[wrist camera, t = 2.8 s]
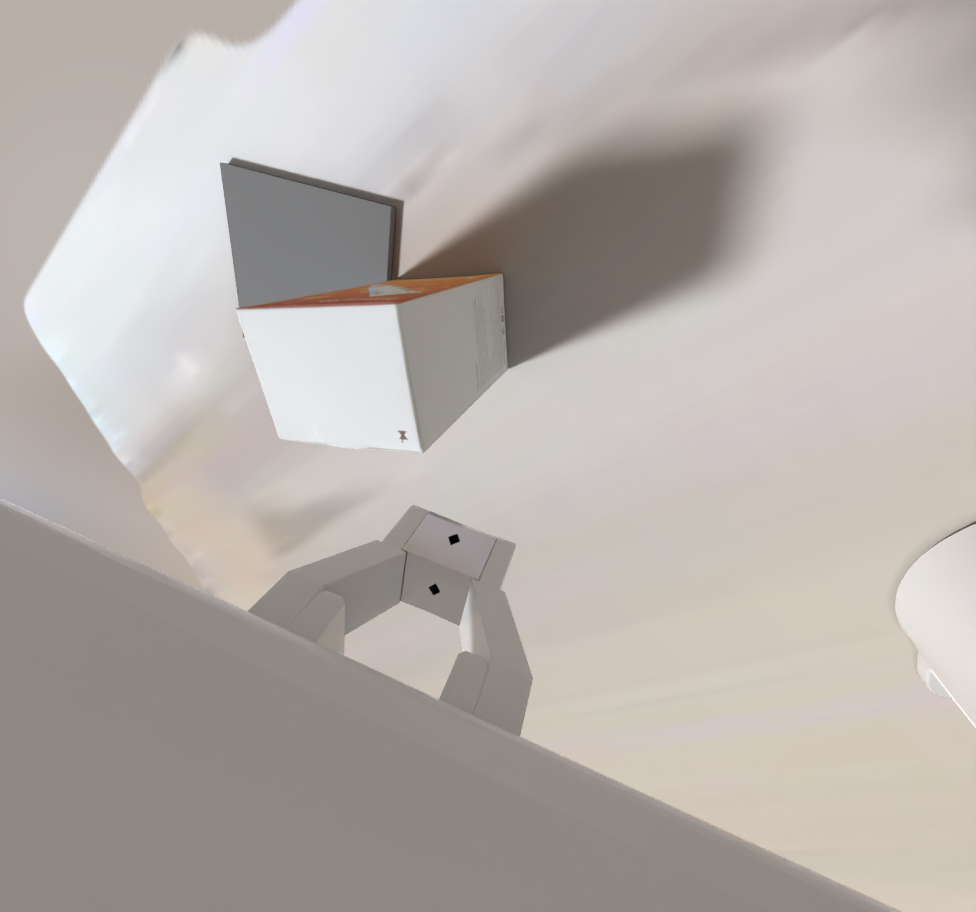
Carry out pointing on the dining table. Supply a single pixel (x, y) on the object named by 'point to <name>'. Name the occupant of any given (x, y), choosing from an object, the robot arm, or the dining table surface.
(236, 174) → the mat
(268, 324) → the small box
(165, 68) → the dining table surface
